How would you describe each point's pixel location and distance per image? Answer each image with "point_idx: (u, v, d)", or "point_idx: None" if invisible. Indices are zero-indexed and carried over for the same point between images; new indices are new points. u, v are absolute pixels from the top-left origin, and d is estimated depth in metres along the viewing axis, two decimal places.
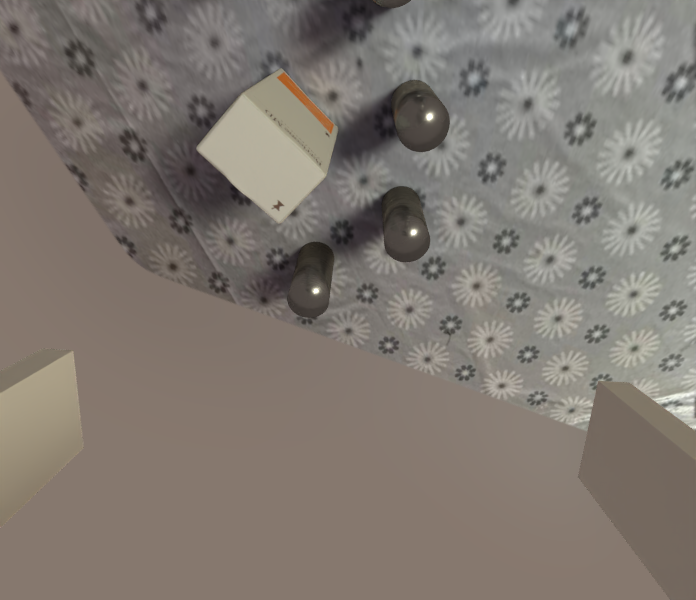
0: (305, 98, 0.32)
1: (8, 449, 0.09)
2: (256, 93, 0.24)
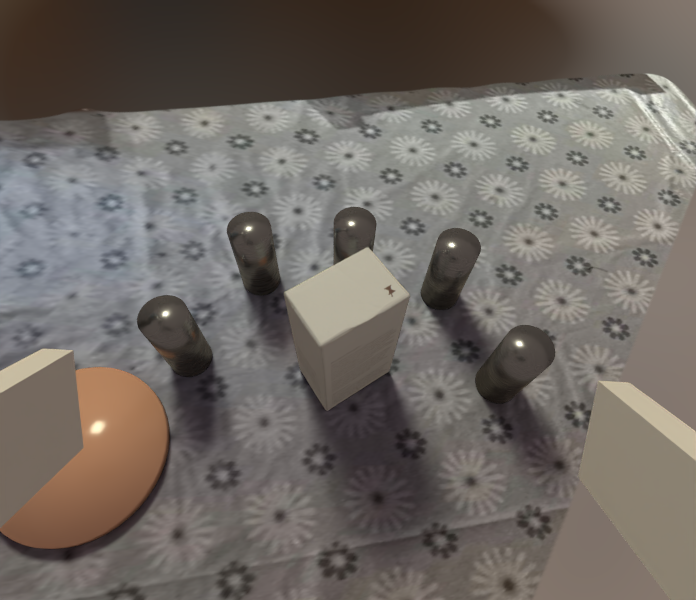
0: None
1: (8, 449, 0.09)
2: None
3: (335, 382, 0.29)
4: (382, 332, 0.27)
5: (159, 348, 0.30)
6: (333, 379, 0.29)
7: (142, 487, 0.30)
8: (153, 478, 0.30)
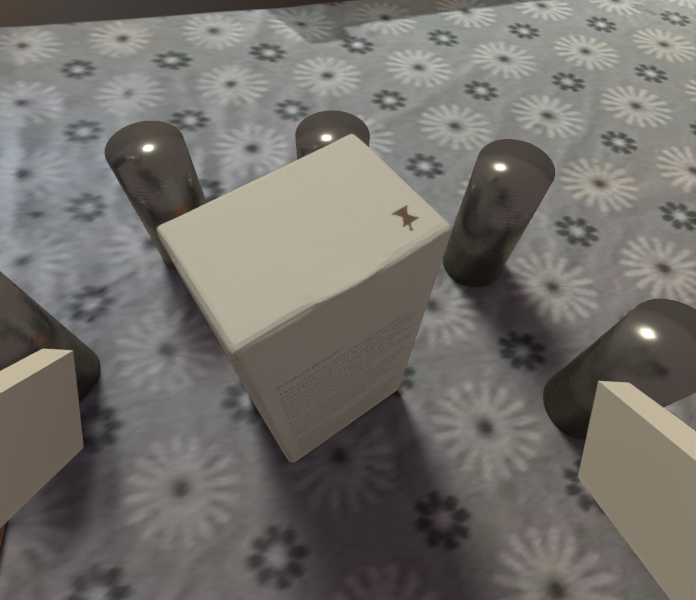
0: None
1: (8, 449, 0.09)
2: None
3: (298, 420, 0.15)
4: (389, 318, 0.13)
5: None
6: (292, 417, 0.14)
7: None
8: None
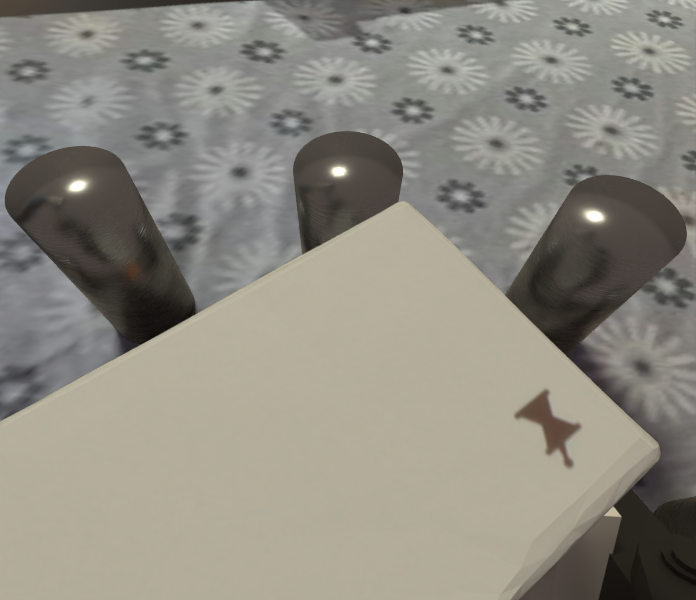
0: None
1: None
2: None
3: None
4: None
5: None
6: None
7: None
8: None
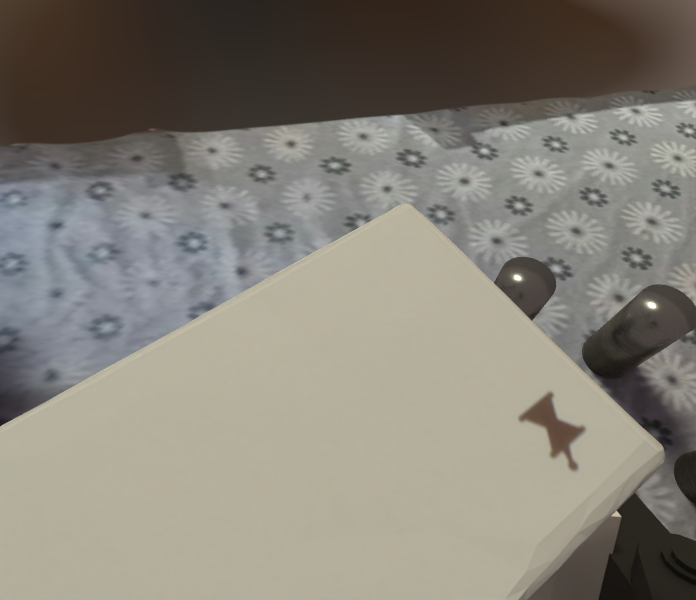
0: None
1: None
2: None
3: None
4: None
5: None
6: None
7: None
8: None
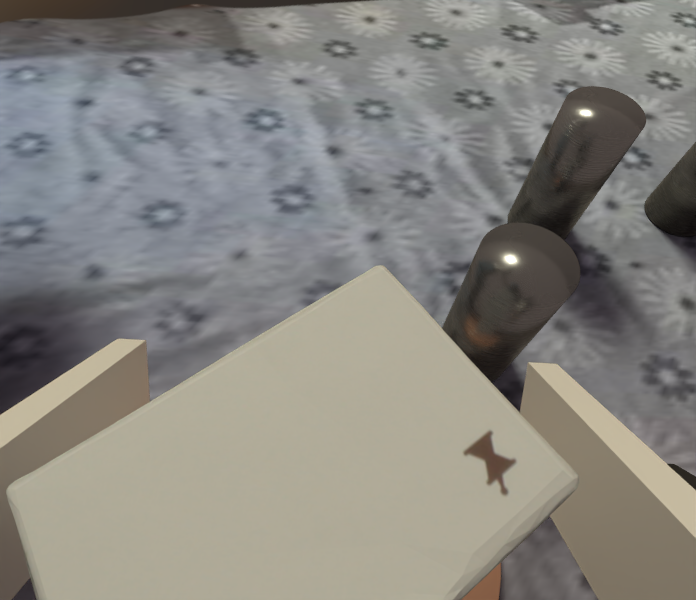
0: None
1: (101, 428, 0.10)
2: None
3: None
4: None
5: (506, 329, 0.15)
6: None
7: None
8: (497, 591, 0.15)
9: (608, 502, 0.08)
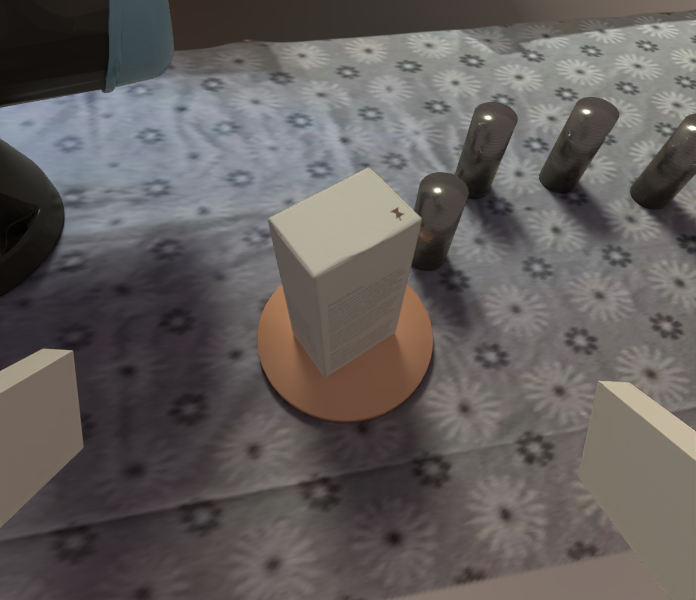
0: None
1: (8, 449, 0.09)
2: None
3: (334, 336, 0.25)
4: (389, 270, 0.22)
5: (434, 225, 0.30)
6: (332, 332, 0.24)
7: (422, 364, 0.30)
8: (430, 356, 0.30)
9: None
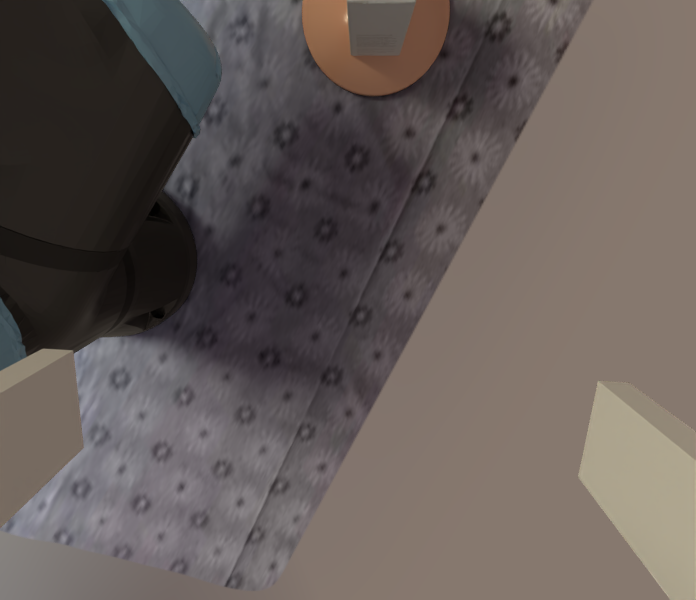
0: None
1: (8, 449, 0.09)
2: None
3: None
4: None
5: None
6: None
7: None
8: None
9: None
